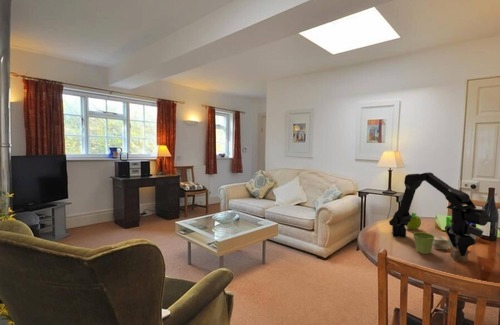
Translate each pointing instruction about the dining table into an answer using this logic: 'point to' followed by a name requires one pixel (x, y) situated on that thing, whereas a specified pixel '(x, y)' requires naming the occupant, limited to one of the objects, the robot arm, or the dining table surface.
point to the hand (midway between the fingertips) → (458, 252)
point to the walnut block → (458, 255)
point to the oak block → (440, 243)
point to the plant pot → (423, 242)
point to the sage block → (449, 243)
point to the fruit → (414, 222)
